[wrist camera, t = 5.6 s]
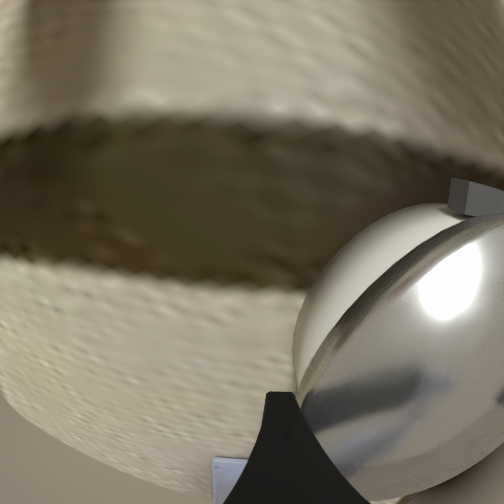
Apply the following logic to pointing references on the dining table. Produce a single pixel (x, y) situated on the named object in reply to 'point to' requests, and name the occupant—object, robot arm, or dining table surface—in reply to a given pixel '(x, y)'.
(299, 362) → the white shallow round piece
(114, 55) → the dining table surface
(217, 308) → the dining table surface
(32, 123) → the dining table surface
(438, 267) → the lid
